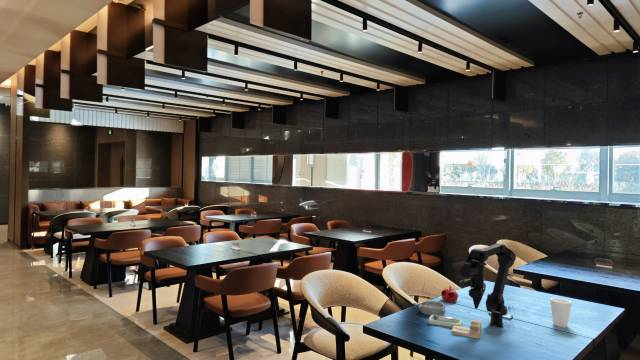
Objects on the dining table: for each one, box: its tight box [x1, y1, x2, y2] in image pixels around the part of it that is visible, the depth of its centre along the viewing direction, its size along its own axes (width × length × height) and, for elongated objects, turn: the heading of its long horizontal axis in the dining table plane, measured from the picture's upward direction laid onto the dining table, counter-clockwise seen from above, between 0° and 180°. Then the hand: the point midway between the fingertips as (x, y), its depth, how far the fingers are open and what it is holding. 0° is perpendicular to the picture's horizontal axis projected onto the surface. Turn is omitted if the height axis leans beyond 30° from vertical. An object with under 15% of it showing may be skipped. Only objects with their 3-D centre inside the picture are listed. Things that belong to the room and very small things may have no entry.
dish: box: [418, 300, 447, 316], centre depth 231 cm, size 14×14×5 cm
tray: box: [428, 315, 463, 329], centre depth 214 cm, size 9×16×2 cm, turn 64°
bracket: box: [451, 319, 482, 340], centre depth 201 cm, size 8×13×6 cm, turn 64°
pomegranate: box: [440, 285, 459, 303], centre depth 254 cm, size 10×10×9 cm
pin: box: [434, 315, 458, 324], centre depth 213 cm, size 3×11×3 cm
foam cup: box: [550, 297, 572, 328], centre depth 215 cm, size 10×9×13 cm
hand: (477, 306), depth 204 cm, fingers open, 9 cm apart
